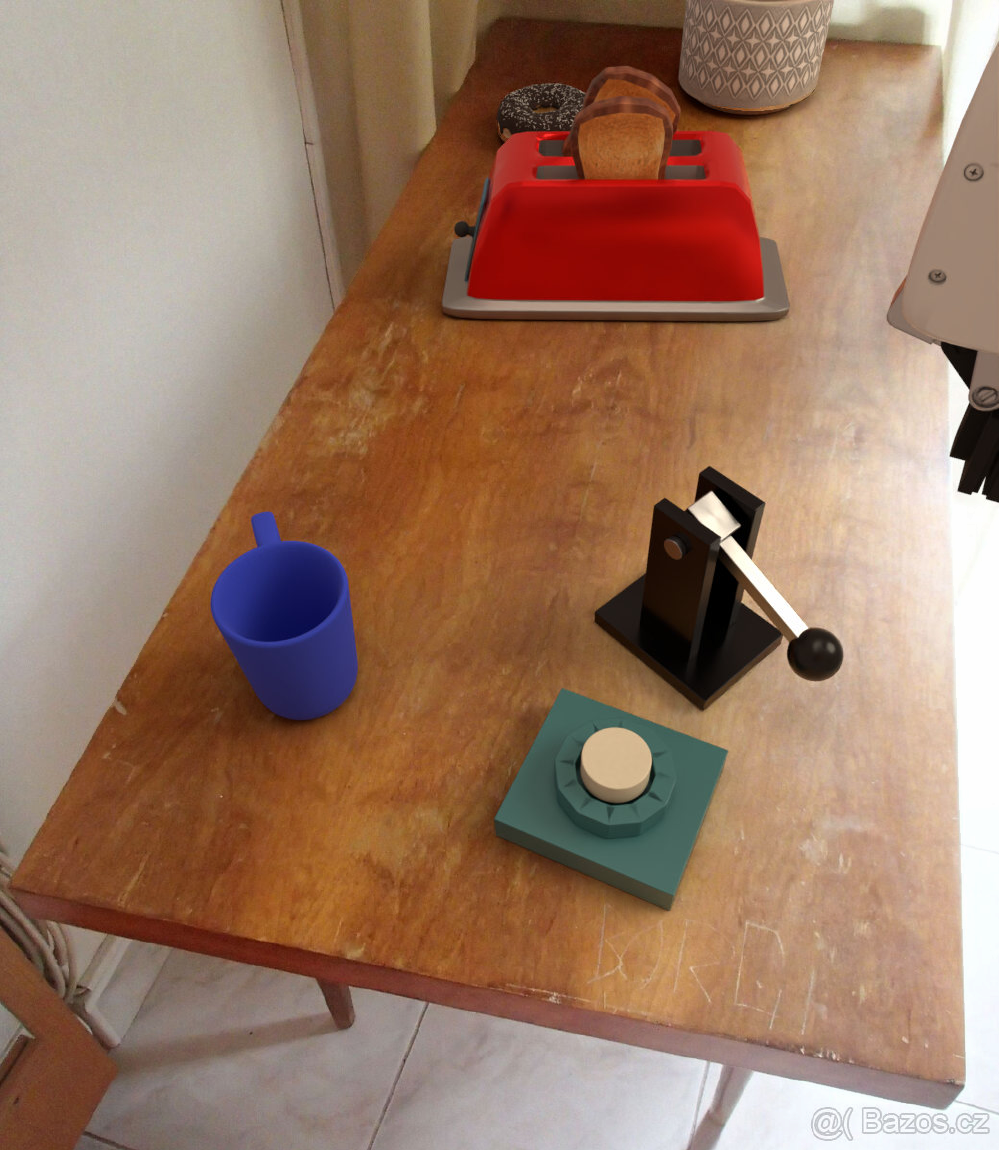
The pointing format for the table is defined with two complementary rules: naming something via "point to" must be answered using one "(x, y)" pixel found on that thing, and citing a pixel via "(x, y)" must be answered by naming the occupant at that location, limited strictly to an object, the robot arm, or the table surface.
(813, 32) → the planter
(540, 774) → the button block
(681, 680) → the bracket
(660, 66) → the table surface
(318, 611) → the mug
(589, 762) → the button
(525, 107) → the donut
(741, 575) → the lever
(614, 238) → the toaster
